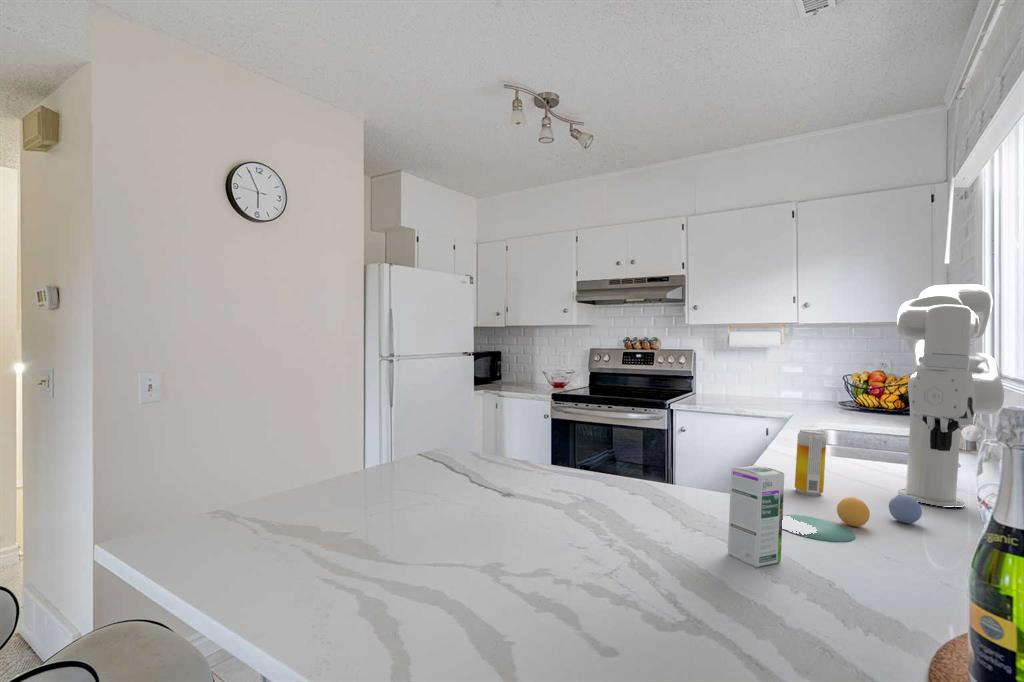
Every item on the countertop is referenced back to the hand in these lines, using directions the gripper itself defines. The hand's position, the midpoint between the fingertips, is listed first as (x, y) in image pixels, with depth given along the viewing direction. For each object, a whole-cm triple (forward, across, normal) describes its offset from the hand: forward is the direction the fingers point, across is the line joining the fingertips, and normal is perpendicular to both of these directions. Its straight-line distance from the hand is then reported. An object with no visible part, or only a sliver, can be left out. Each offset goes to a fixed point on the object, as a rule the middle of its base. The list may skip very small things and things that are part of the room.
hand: (940, 449), depth 111 cm
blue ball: (+12, 0, -9) cm, 15 cm away
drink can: (+15, -21, -12) cm, 29 cm away
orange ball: (+12, 0, -23) cm, 26 cm away
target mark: (+15, 0, -33) cm, 36 cm away
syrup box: (+15, +11, -56) cm, 59 cm away
